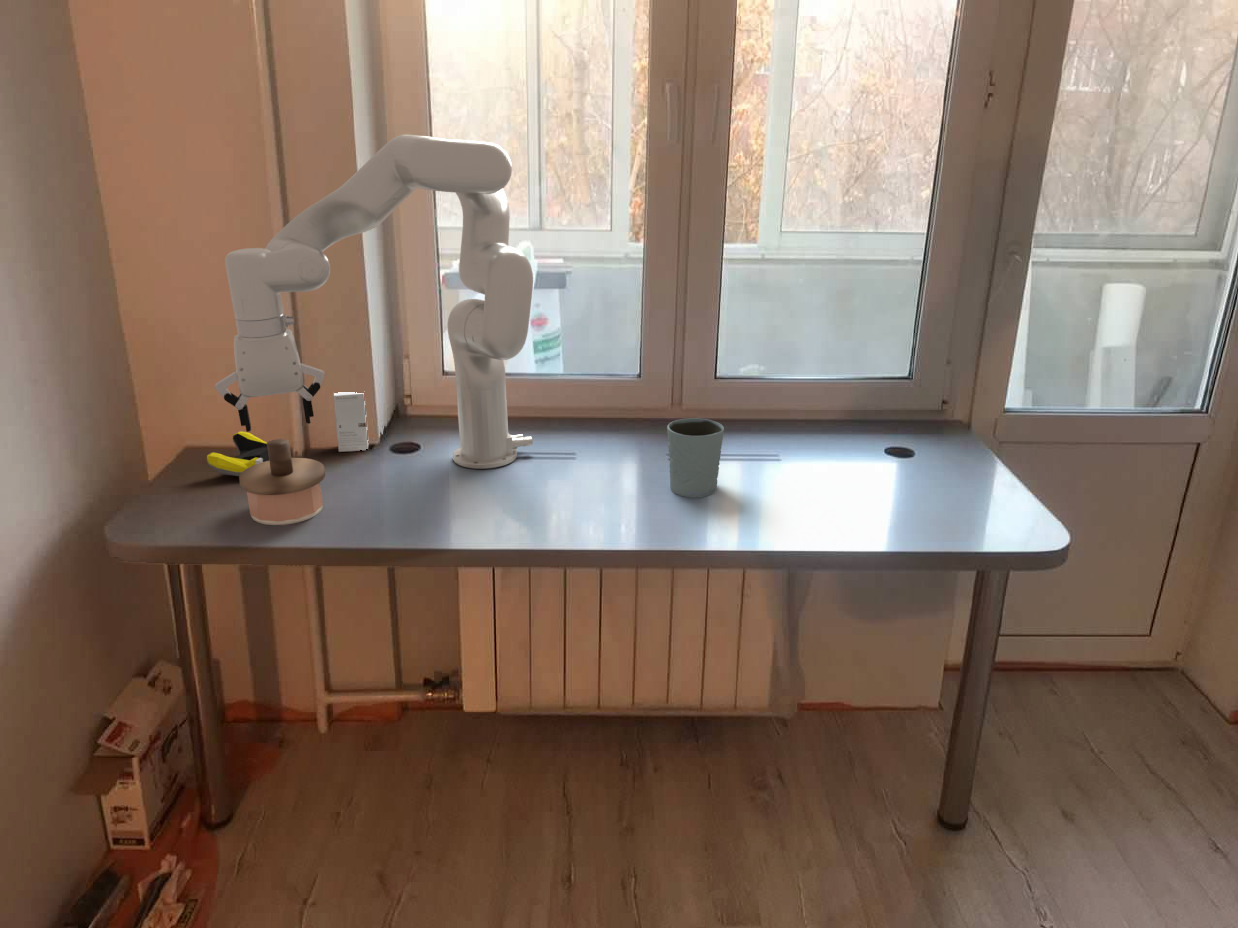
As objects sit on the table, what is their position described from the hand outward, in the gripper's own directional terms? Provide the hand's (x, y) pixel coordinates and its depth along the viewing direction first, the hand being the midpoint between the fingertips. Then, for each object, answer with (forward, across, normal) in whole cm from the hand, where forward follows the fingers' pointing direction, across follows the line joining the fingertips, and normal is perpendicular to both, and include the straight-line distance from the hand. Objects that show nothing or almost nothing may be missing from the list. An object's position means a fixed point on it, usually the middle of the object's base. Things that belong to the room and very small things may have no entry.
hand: (278, 425), depth 164 cm
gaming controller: (+16, +8, -23) cm, 29 cm away
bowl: (+16, +1, 0) cm, 16 cm away
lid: (+10, +1, 0) cm, 10 cm away
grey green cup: (+18, -70, +15) cm, 74 cm away
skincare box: (+17, -13, -28) cm, 35 cm away
